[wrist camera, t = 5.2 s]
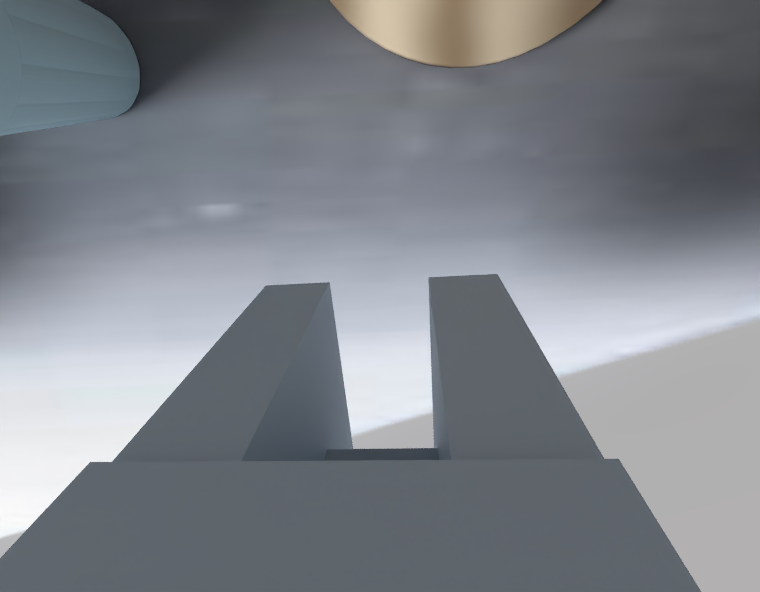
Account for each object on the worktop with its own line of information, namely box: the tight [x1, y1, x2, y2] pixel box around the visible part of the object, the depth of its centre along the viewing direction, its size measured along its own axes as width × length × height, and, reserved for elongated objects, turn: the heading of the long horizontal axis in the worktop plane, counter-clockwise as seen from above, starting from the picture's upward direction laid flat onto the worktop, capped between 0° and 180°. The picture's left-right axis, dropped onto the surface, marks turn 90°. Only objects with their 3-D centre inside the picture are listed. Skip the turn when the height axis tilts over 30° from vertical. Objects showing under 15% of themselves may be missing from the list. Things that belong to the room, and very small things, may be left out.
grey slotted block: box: [0, 274, 701, 592], centre depth 9 cm, size 7×9×9 cm
